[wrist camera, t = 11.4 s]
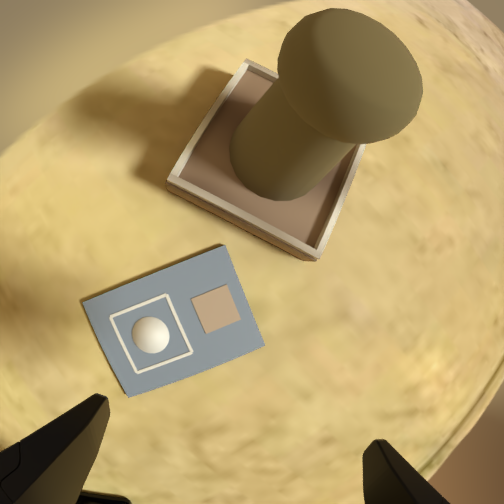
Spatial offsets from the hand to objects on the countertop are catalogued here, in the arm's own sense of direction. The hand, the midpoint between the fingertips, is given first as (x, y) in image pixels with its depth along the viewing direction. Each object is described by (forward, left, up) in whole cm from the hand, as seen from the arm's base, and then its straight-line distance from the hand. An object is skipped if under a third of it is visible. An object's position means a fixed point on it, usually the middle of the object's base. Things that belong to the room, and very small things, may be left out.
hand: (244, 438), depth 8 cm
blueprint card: (-3, +1, -11) cm, 11 cm away
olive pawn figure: (+4, +12, -9) cm, 15 cm away
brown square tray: (+4, +12, -11) cm, 17 cm away
